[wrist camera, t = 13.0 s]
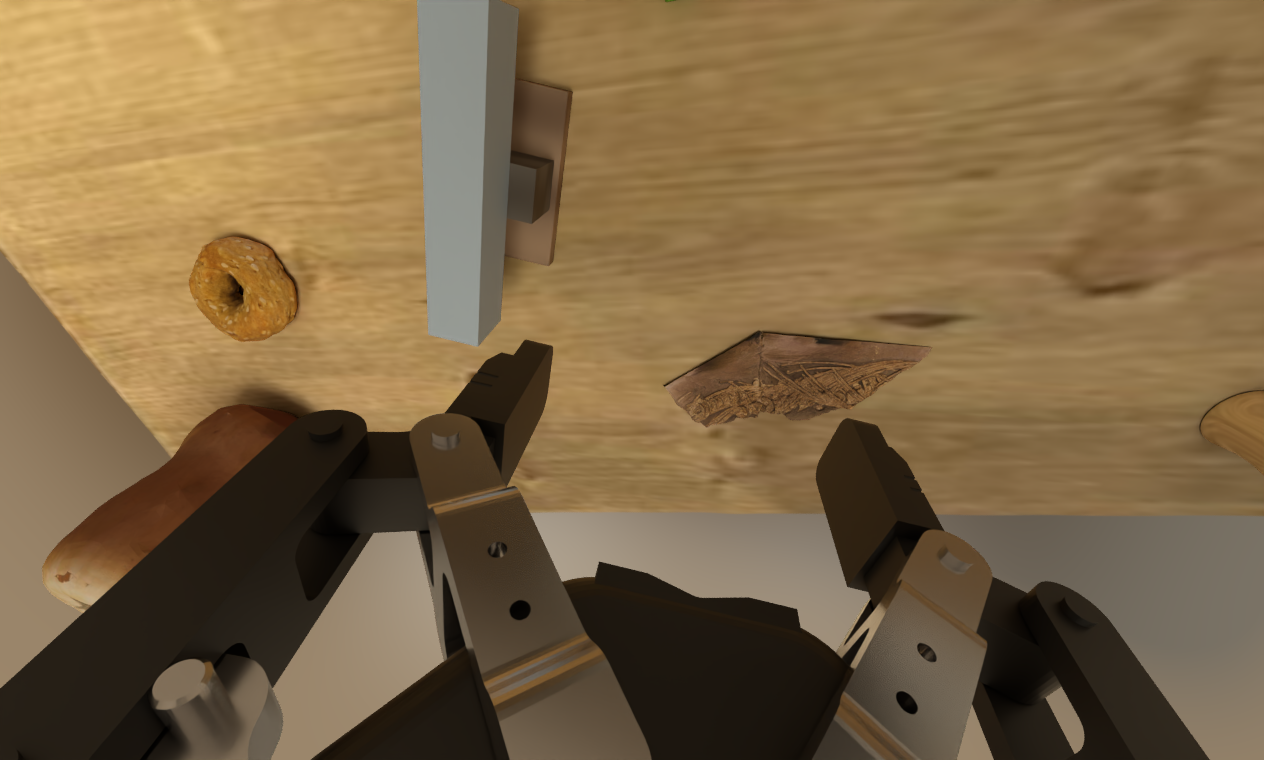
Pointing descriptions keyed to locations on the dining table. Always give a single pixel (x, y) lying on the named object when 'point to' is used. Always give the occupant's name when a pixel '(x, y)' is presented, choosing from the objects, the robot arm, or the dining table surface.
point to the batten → (466, 159)
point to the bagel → (261, 278)
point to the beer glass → (1238, 426)
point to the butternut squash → (157, 503)
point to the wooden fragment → (789, 377)
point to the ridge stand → (536, 170)
